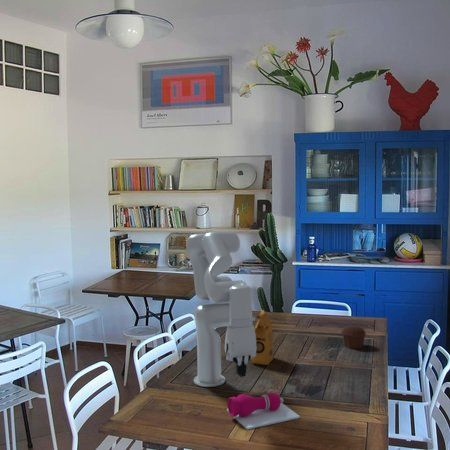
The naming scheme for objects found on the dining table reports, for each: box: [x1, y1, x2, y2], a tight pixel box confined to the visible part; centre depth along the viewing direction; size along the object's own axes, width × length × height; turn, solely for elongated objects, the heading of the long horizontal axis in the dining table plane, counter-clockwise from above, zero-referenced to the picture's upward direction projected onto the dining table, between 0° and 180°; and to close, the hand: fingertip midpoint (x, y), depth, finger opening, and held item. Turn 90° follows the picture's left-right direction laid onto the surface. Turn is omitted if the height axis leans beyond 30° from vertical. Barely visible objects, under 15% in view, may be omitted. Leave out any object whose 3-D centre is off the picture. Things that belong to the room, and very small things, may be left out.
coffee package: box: [250, 309, 274, 366], centre depth 236 cm, size 10×12×22 cm
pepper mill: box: [227, 392, 284, 418], centre depth 181 cm, size 7×7×20 cm
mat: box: [226, 402, 301, 430], centre depth 182 cm, size 16×20×1 cm
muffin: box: [340, 324, 366, 350], centre depth 256 cm, size 12×11×10 cm
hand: (241, 375), depth 177 cm, fingers closed
